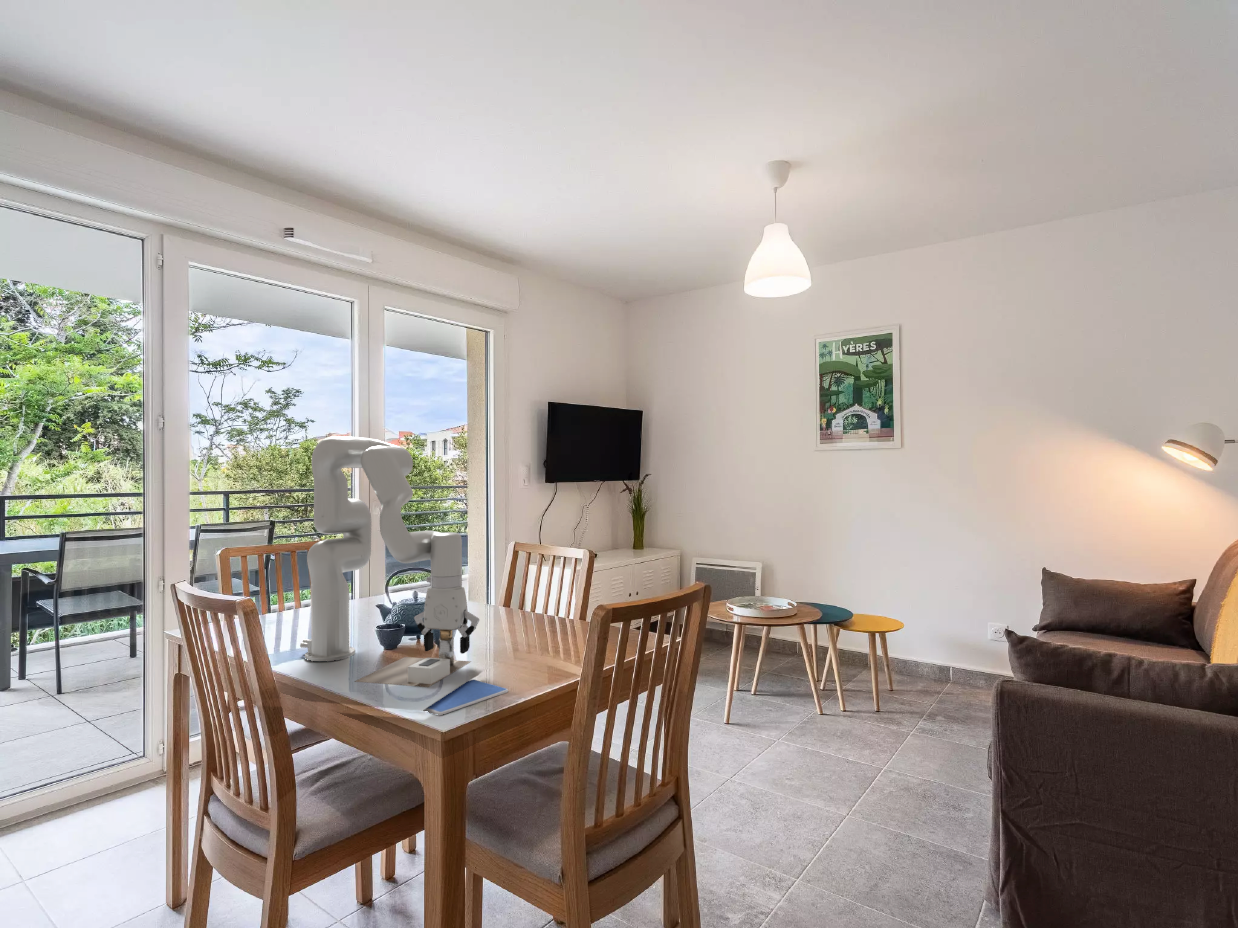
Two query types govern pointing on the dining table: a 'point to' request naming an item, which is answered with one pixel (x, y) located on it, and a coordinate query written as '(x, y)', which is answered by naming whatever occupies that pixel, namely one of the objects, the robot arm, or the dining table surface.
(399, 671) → the beige flat panel
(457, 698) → the tablet computer
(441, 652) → the glass spice jar
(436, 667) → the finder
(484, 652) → the dining table surface
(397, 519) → the robot arm
